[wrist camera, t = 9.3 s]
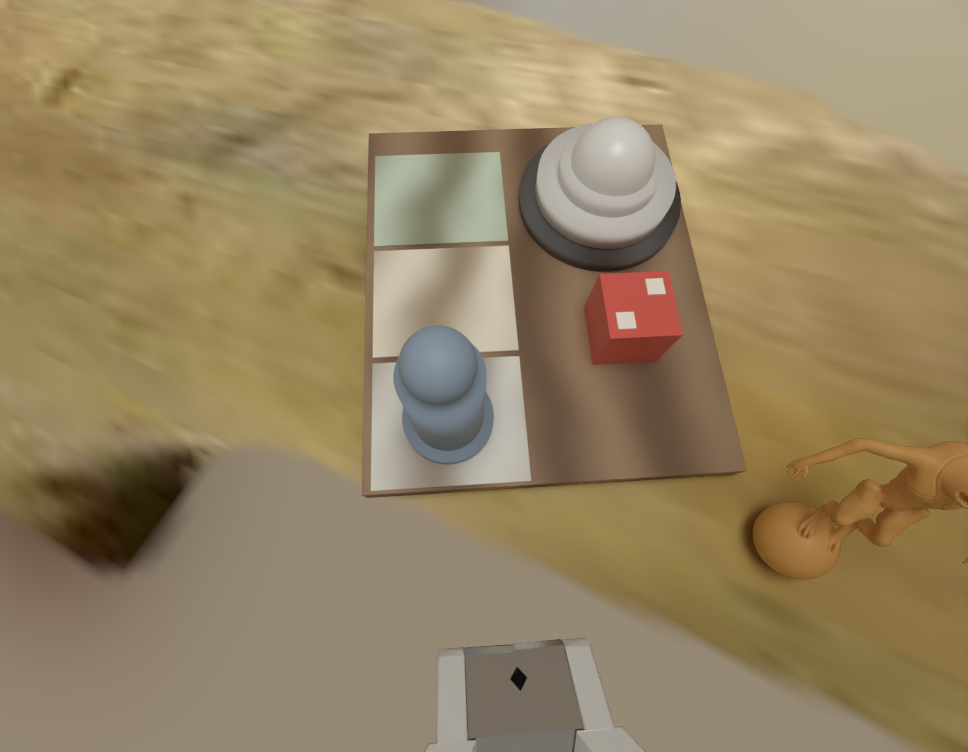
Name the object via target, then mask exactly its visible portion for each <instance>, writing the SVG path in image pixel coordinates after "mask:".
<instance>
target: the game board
mask: <svg viewBox="0 0 968 752" xmlns="http://www.w3.org/2000/svg"><path fill="white" fill-rule="evenodd" d="M641 126H642V127H643V128H644V129H645V130H646V131H647V132H648V134H649V135H650V137H651V139H652V141H653V142H654V143H655V144H656V145H657V146H658V147H659V148H660V149H661V150H662V151H663V152H664V154H665V155H666V157H667V158H668V160H669V161H670V163H671V160H670V156H669V152H668V148H667V143H666V139H665V135H664V131H663V127H662V125H641ZM572 128H575V127H570V128H538V129H506V130H473V131H441V132H409V133H377V134H369V157H368V210H367V263H366V316H365V369H364V422H363V475H362V496H365V497H367V498H372V497H387V496H403V495H419V494H434V493H450V492H465V491H481V490H497V489H512V488H528V487H544V486H559V485H575V484H590V483H606V482H622V481H637V480H653V479H668V478H684V477H700V476H715V475H731V474H736V473H740V472H744V471H746V467H745V463H744V459H743V455H742V451H741V447H740V443H739V439H738V435H737V430H736V426H735V422H734V418H733V414H732V410H731V406H730V402H729V398H728V394H727V389H726V385H725V381H724V377H723V373H722V369H721V365H720V361H719V357H718V353H717V348H716V344H715V340H714V336H713V332H712V328H711V324H710V320H709V316H708V312H707V307H706V303H705V299H704V295H703V291H702V287H701V283H700V279H699V275H698V271H697V266H696V262H695V258H694V254H693V250H692V246H691V242H690V238H689V234H688V230H687V225H686V221H685V217H684V213H683V209H682V205H681V198H680V192H679V188H678V185H677V182H676V191H675V196H674V199H673V202H672V204H671V206H670V208H669V210H668V212H667V213H666V215H665V217H664V218H663V220H662V222H661V223H660V225H659V226H658V227H657V229H656V230H655V231H654V232H653V233H652V234H651V235H650V236H648V237H647V238H645V239H644V240H642V241H640V242H638V243H636V244H634V245H631V246H628V247H623V248H618V249H598V248H591V247H587V246H583V245H581V244H578V243H575V242H573V241H571V240H569V239H567V238H566V237H564V236H562V235H561V234H560V233H558V232H557V231H556V230H555V229H553V228H552V226H551V225H550V224H549V223H548V222H547V221H546V219H545V218H544V217H543V215H542V213H541V211H540V209H539V207H538V204H537V201H536V196H535V184H536V178H537V172H538V166H539V162H540V159H541V156H542V154H543V152H544V150H545V149H546V148H547V146H548V145H549V144H550V143H551V142H552V141H553V140H554V139H555V138H556V137H557V136H559V135H560V134H562V133H564V132H565V131H567V130H570V129H572ZM671 165H672V164H671ZM656 271H669V274H670V278H671V283H672V287H673V292H674V296H675V301H676V305H677V310H678V314H679V319H680V323H681V328H682V332H683V336H682V337H681V338H680V339H679V340H678V341H676V342H675V343H674V344H673V345H672V346H671V347H670V348H669V349H668V350H667V351H666V352H665V353H664V354H663V355H662V356H661V357H660V358H659V359H658V360H657V361H656V362H637V363H618V364H599V365H593V364H592V357H591V351H590V344H589V337H588V331H587V324H586V317H585V310H584V306H585V304H586V302H587V300H588V297H589V295H590V293H591V291H592V289H593V287H594V285H595V283H596V281H597V279H598V276H599V274H611V273H633V272H656ZM435 325H442V326H447V327H451V328H453V329H456V330H457V331H459V332H461V333H462V334H463V335H464V336H466V337H467V338H468V340H469V341H470V342H471V343H472V344H473V345H474V346H475V347H476V348H477V349H478V350H479V352H480V354H481V355H482V357H483V359H484V362H485V365H486V371H487V381H486V392H487V394H488V396H489V398H490V400H491V402H492V406H493V412H494V421H493V428H492V432H491V435H490V437H489V440H488V441H487V443H486V445H485V446H484V447H483V449H482V450H481V451H480V452H479V453H478V454H476V455H475V456H474V457H472V458H470V459H469V460H466V461H464V462H461V463H457V464H439V463H435V462H432V461H430V460H427V459H426V458H424V457H422V456H421V455H420V454H419V453H418V452H417V451H416V450H415V449H414V448H413V447H412V445H411V444H410V442H409V441H408V439H407V437H406V435H405V432H404V429H403V424H402V412H403V405H402V403H401V401H400V399H399V397H398V396H397V393H396V391H395V387H394V381H393V373H394V367H395V364H396V361H397V359H398V357H399V355H400V351H401V349H402V347H403V345H404V343H405V342H406V341H407V339H408V338H409V337H410V336H411V335H412V334H414V333H415V332H417V331H418V330H420V329H422V328H425V327H429V326H435Z"/></svg>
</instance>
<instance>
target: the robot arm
mask: <svg viewBox="0 0 968 752" xmlns="http://www.w3.org/2000/svg"><path fill="white" fill-rule="evenodd" d="M464 649H465V661H464ZM437 661H438V662H437V737H436V738H437V739H436V743H432V744H428V746H427V748H426V750H425V751H424V752H645V751H644V750H643V749H642V748H641V746H640V745H639V744H638V743H637V742H636V741H635V740H634V739H633V738H632V737H631V735H630V734H629V733H628V732H627V731H626V730H625V729H624V728H623V727H615V726H614V723H613V720H612V716H611V713H610V710H609V706H608V703H607V700H606V697H605V693H604V690H603V687H602V683H601V680H600V676H599V673H598V670H597V666H596V663H595V660H594V656H593V653H592V650H591V647H590V644H589V642H588V641H587V639H586V638H577V639H567V640H560V639H559V640H549V641H537V642H526V643H517V644H512V645H497V646H482V647H467V648H463V647H461V648H448V649H439V652H438V659H437ZM465 680H466V683H465Z"/></svg>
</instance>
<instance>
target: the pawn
mask: <svg viewBox="0 0 968 752" xmlns="http://www.w3.org/2000/svg"><path fill="white" fill-rule="evenodd" d="M393 381H394V387H395V391H396V393H397V396H398V397H399V399H400V401H401V403H402V405H403V412H402V424H403V429H404V432H405V435H406V437H407V439H408V441H409V442H410V444H411V445H412V447H413V448H414V449H415V450H416V451H417V452H418V453H419V454H420V455H421V456H422V457H424V458H426V459H427V460H430V461H432V462H435V463H439V464H457V463H461V462H464V461H466V460H469V459H470V458H472V457H474V456H475V455H476V454H478V453H479V452H480V451H481V450H482V449H483V447H484V446H485V445H486V443H487V441H488V440H489V437H490V435H491V432H492V428H493V421H494V412H493V406H492V402H491V400H490V398H489V396H488V394H487V392H486V381H487V371H486V365H485V362H484V359H483V357H482V355H481V354H480V352H479V350H478V349H477V348H476V347H475V346H474V345H473V344H472V343H471V342H470V341H469V340H468V338H467V337H466V336H464V335H463V334H462V333H461V332H459V331H457V330H456V329H453V328H451V327H447V326H442V325H435V326H429V327H425V328H422V329H420V330H418V331H417V332H415V333H414V334H412V335H411V336H410V337H409V338H408V339H407V341H406V342H405V343H404V345H403V347H402V349H401V351H400V355H399V357H398V359H397V361H396V364H395V367H394V373H393Z"/></svg>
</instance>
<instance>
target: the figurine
mask: <svg viewBox="0 0 968 752" xmlns="http://www.w3.org/2000/svg"><path fill="white" fill-rule="evenodd" d="M861 451H867V452H870V453H873V454H876V455H879V456H883V457H886V458H889V459H893V460H897V461H900V462H904V463H906V464H908V466H907V467H906V468H905V469H904V470H902V471H901V472H900V473H899V474H898V475H897V477H896V478H894V479H893V480H891V481H890V482H889V483H888V484H886V485H879V484H878V483H877V482H875V481H874V480H871V479H866V480H863V481H861V482H860V483H859V484H858V485H857V487H856V488H855V490H853V491H852V492H851V493H850V494H849V495H848V496H846V497H845V498H844V499H843V500H842V501H841V502H840V504H838V503H837V502H835V501H830V502H828V503H827V504H824V505H822V506H821V507H820V508H818V509H817V510H816V509H814V508H812V507H810V506H808V505H805V504H801V503H796V502H781V503H777V504H774V505H771V506H769V507H768V508H766V509H765V510H763V511H762V512H761V513H760V514H759V516H758V517H757V519H756V521H755V523H754V527H753V541H754V545H755V548H756V550H757V552H758V554H759V555H760V557H761V558H762V559H763V561H764V562H765V563H766V564H767V565H768V566H770V567H771V568H772V569H773V570H775V571H776V572H778V573H780V574H782V575H784V576H787V577H790V578H794V579H801V580H808V579H815V578H818V577H821V576H823V575H825V574H827V573H828V572H829V571H831V570H832V569H833V568H834V566H835V565H836V563H837V561H838V559H839V556H840V551H841V542H842V540H843V539H844V538H845V537H846V536H847V535H849V534H850V533H851V532H853V531H854V530H855V529H857V528H859V530H860V531H861V532H862V533H863V534H864V535H865V536H866V537H867V538H868V540H869V541H871V542H872V543H873V544H876V545H879V546H888V545H890V544H891V542H892V540H893V539H894V538H895V537H897V536H898V535H899V534H900V533H901V532H902V531H904V530H905V529H906V528H907V527H908V526H909V525H911V524H913V523H916V522H918V521H920V520H921V519H923V518H926V517H928V516H929V513H930V512H929V510H928V508H932V509H941V510H950V509H951V510H953V509H957V508H961V507H963V508H966V509H968V444H966V443H962V442H955V441H949V442H942V443H938V444H935V445H932V446H930V447H928V448H922V447H909V446H901V445H897V444H893V443H888V442H883V441H878V440H873V439H866V438H859V439H854V440H851V441H849V442H847V443H845V444H842V445H840V446H837V447H834V448H831V449H828V450H825V451H823V452H820V453H818V454H816V455H814V456H811V457H806V458H802V459H799V460H796V461H794V462H792V463H791V464H789V465H788V466H787V467H790V466H793V467H792V468H791V469H789V470H788V472H787V473H790V472H791V471H793V470H795V469H796V471H795V473H794V474H793V475H792V477H791V478H793V477H795V476H796V475H797V474H798V473H800V472H801V471H804V475H803V478H804V477H806V475H807V473H808V469H809V466H810V465H813V464H819V463H824V462H829V461H832V460H835V459H838V458H840V457H842V456H846V455H850V454H854V453H857V452H861ZM879 504H881V506H882V507H883V508H885V510H884V511H883V512H881V513H880V514H879V515H878V516H877V518H876V525H875V523H874V522H873V521H872V520H871V519H869V517H871V516H872V515H874V514H875V512H876V511H877V508H878V506H879ZM826 516H829V517H830V519H831V521H832V522H833V523H834V524H836V525H839V526H840V527H839V528H837V529H835V527H834V526H833V524H832V523H831V522H830V521H829V519H828V518H827V517H826ZM967 562H968V559H967V560H965V561H964V562H962V563H963V564H965V563H967Z"/></svg>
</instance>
